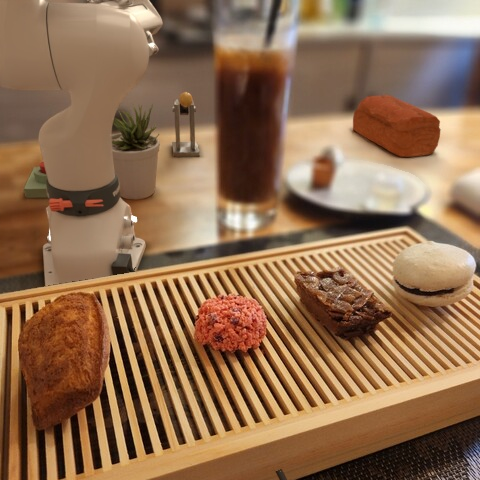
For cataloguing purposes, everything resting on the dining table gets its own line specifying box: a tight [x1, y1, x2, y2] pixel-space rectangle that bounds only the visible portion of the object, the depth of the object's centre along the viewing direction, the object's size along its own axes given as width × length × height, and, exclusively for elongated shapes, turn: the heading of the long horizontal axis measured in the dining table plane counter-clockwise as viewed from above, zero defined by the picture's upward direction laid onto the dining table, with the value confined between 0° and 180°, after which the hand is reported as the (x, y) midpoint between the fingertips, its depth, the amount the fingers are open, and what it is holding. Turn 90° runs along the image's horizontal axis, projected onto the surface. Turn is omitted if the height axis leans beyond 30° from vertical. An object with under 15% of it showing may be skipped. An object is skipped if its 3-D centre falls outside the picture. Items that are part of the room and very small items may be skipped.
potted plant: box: [112, 102, 161, 200], centre depth 101 cm, size 13×14×20 cm
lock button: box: [38, 161, 46, 174], centre depth 105 cm, size 4×4×2 cm
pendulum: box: [171, 99, 200, 158], centre depth 124 cm, size 8×7×13 cm
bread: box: [352, 94, 442, 158], centre depth 138 cm, size 16×27×11 cm, turn 22°
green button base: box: [23, 165, 48, 199], centre depth 107 cm, size 12×10×4 cm
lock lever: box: [178, 91, 194, 116], centre depth 115 cm, size 16×3×3 cm, turn 8°
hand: (154, 53), depth 105 cm, fingers closed
